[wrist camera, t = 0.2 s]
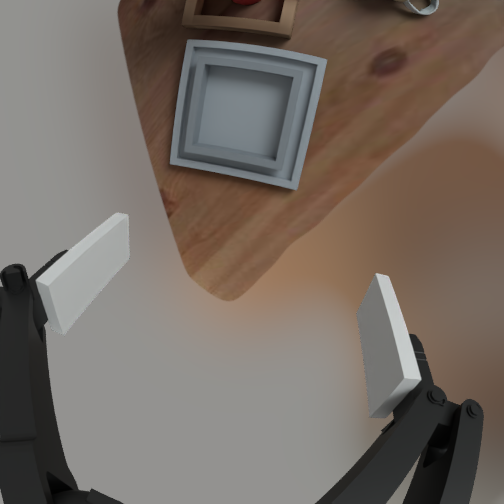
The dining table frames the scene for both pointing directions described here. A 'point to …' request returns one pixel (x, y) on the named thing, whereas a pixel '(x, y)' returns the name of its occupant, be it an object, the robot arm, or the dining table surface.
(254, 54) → the grey tray
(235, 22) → the walnut collar
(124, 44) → the dining table surface
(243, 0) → the paper cup
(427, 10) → the ceramic mug
